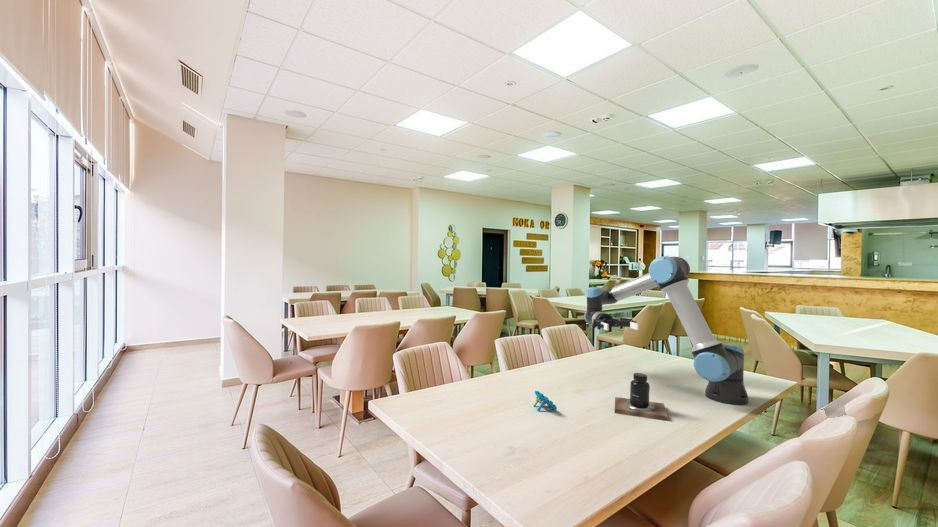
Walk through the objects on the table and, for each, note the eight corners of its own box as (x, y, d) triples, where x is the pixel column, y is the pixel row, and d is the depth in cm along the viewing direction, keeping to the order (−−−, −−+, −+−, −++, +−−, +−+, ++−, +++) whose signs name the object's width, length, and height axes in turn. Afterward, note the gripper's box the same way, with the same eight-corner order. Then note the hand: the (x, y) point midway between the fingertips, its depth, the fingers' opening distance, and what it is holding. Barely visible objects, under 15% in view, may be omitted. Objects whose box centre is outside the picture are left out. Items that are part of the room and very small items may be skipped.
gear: (562, 409, 144) (544, 391, 143) (553, 422, 142) (534, 404, 141) (548, 403, 154) (531, 386, 153) (539, 415, 153) (522, 398, 152)
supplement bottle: (629, 407, 147) (630, 375, 147) (629, 401, 153) (630, 371, 153) (649, 409, 144) (650, 378, 144) (648, 403, 151) (649, 373, 151)
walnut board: (663, 407, 152) (663, 402, 152) (667, 420, 139) (667, 415, 139) (615, 400, 159) (615, 396, 159) (614, 413, 146) (614, 408, 146)
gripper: (627, 327, 188) (650, 335, 167) (577, 328, 186) (595, 336, 165) (627, 312, 188) (650, 318, 167) (577, 313, 186) (595, 318, 165)
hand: (623, 327), depth 166 cm, fingers open, 13 cm apart
